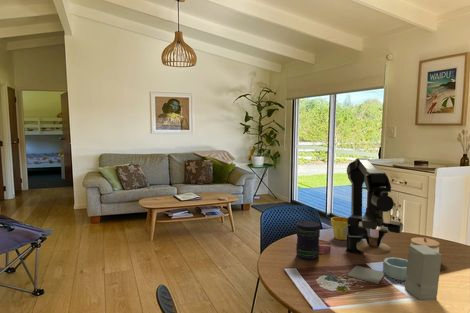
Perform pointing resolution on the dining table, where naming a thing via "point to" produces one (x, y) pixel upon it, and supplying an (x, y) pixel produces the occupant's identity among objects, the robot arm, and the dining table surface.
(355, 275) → the grey flat square slab
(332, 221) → the plant pot
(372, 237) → the lid
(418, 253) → the skincare box
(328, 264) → the dining table surface
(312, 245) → the storage jar
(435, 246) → the lidded jar
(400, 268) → the bowl
